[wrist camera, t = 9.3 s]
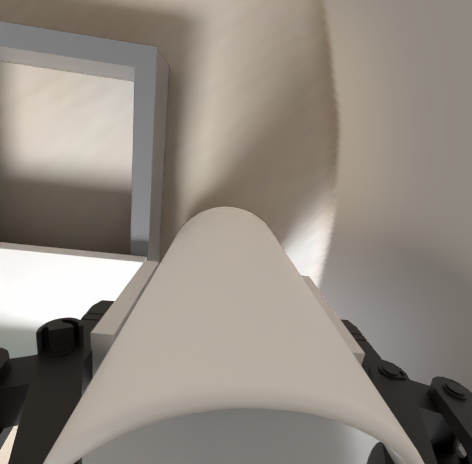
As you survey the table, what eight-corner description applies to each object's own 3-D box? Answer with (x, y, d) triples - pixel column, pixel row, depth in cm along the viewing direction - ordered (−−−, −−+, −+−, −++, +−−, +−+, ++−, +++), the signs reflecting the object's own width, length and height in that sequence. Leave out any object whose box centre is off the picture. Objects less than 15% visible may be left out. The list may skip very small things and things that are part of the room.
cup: (234, 183, 19) (289, 295, 4) (298, 266, 21) (512, 569, 6) (148, 251, 20) (-100, 568, 5) (217, 324, 22) (206, 715, 7)
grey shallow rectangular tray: (-9, 325, 23) (-50, 354, 20) (-48, 33, 17) (-115, 2, 14) (154, 337, 24) (143, 367, 21) (169, 67, 18) (156, 46, 15)
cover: (-54, 357, 19) (-134, 415, 15) (-78, 234, 17) (-181, 260, 13) (142, 370, 20) (120, 427, 16) (146, 256, 18) (122, 288, 14)
